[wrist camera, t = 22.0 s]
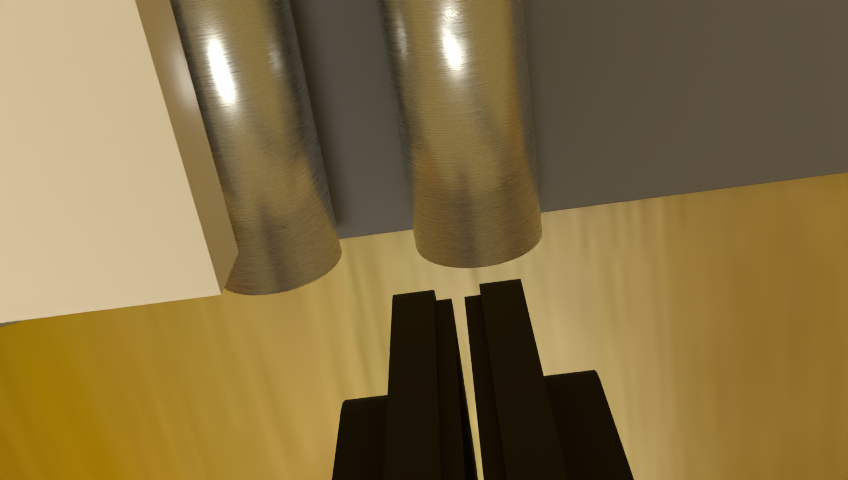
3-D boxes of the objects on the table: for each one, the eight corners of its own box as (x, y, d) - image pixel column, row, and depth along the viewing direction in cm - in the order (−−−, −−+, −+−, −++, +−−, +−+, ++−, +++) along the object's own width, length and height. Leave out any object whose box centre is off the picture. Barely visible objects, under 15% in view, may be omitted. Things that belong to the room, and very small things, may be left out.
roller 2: (561, 216, 33) (508, 276, 29) (453, 203, 35) (392, 257, 31) (529, -241, 25) (454, -238, 22) (396, -215, 28) (309, -208, 24)
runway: (927, 199, 35) (1070, 300, 27) (-139, 336, 37) (-280, 465, 30) (1019, -408, 25) (1277, -510, 18) (-412, -170, 28) (-720, -171, 20)
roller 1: (330, 223, 35) (352, 274, 31) (215, 251, 34) (220, 307, 30) (242, -191, 28) (254, -202, 24) (93, -169, 27) (77, -176, 23)
